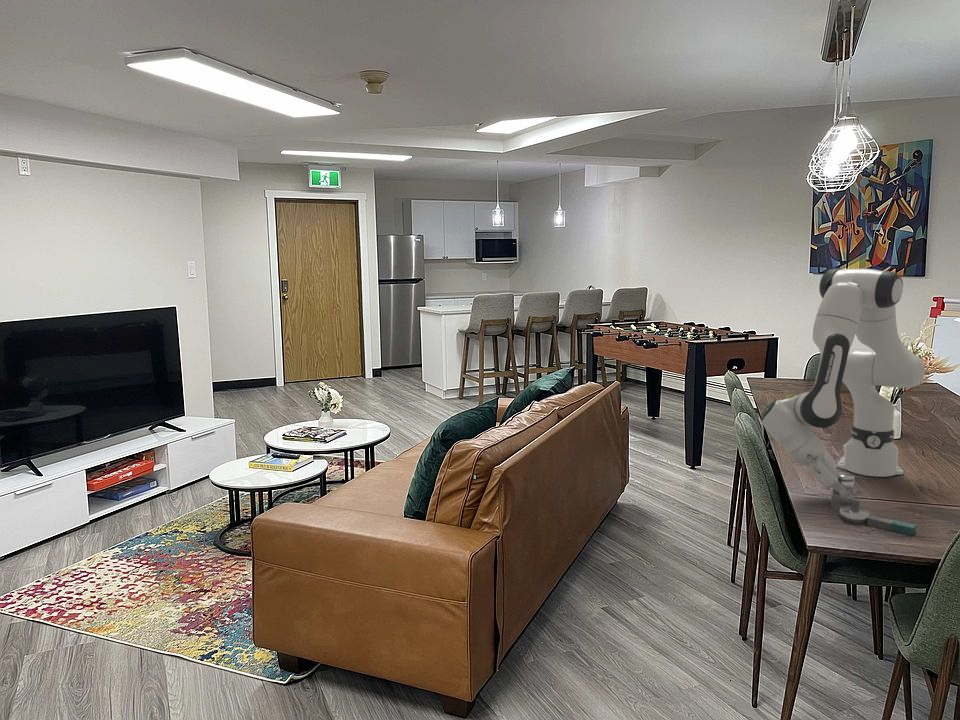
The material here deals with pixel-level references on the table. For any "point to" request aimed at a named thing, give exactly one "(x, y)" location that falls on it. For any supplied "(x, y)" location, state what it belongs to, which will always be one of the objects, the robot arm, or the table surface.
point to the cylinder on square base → (848, 484)
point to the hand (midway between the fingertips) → (844, 489)
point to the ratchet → (873, 519)
